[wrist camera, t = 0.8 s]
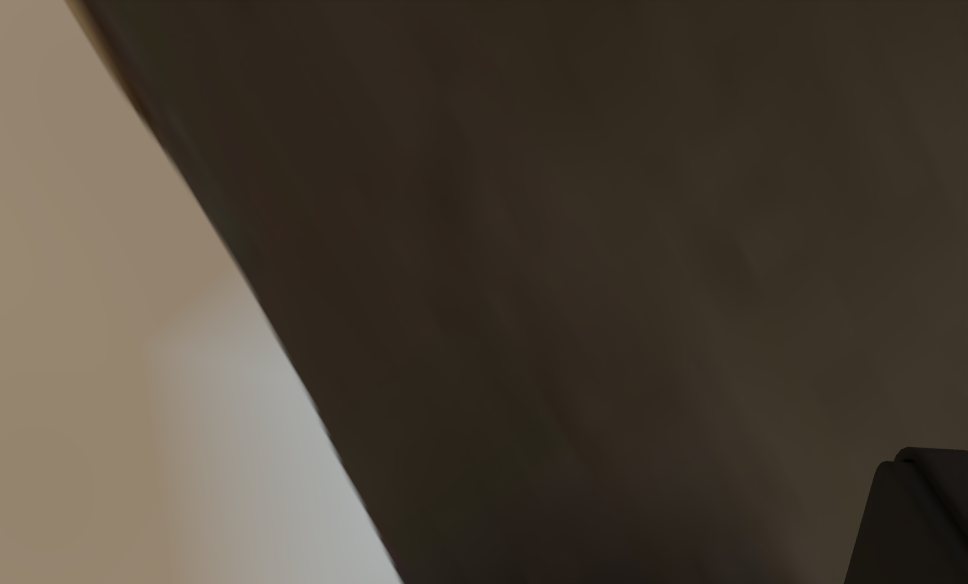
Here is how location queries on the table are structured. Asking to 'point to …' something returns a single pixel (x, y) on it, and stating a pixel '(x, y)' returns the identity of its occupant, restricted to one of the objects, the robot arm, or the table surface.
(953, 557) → the robot arm
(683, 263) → the table surface
